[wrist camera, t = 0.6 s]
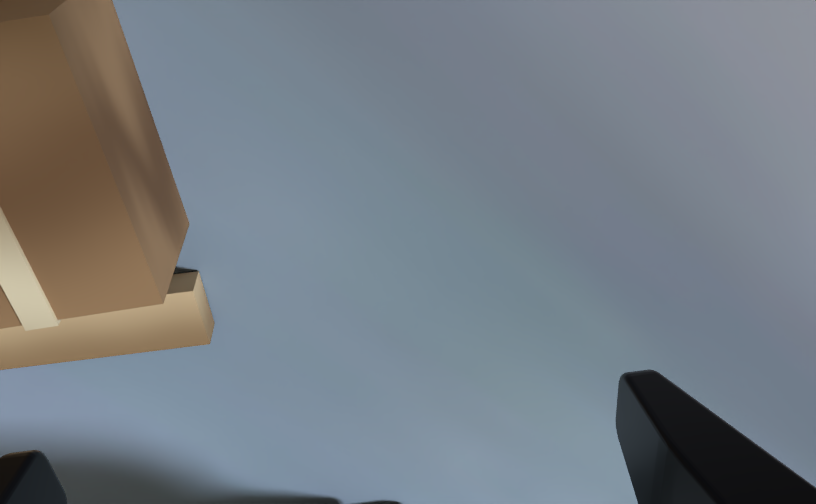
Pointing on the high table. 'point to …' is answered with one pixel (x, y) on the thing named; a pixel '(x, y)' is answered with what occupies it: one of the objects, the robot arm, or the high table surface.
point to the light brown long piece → (116, 330)
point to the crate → (79, 169)
